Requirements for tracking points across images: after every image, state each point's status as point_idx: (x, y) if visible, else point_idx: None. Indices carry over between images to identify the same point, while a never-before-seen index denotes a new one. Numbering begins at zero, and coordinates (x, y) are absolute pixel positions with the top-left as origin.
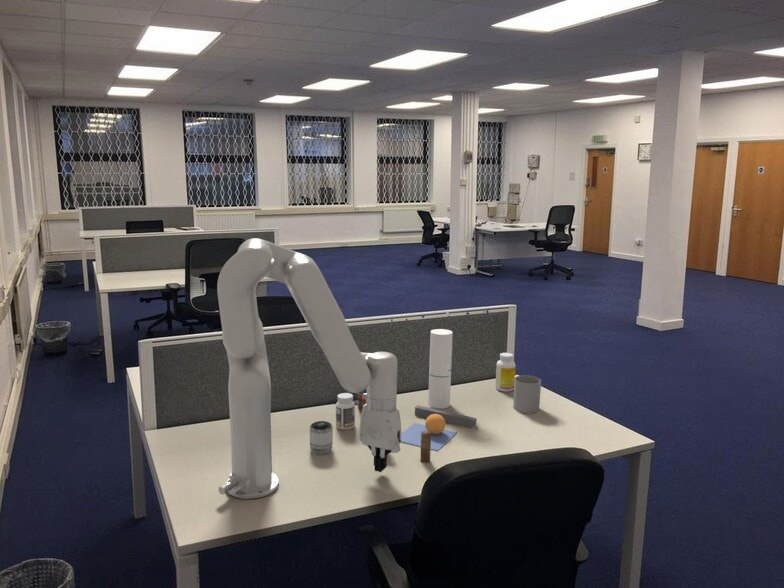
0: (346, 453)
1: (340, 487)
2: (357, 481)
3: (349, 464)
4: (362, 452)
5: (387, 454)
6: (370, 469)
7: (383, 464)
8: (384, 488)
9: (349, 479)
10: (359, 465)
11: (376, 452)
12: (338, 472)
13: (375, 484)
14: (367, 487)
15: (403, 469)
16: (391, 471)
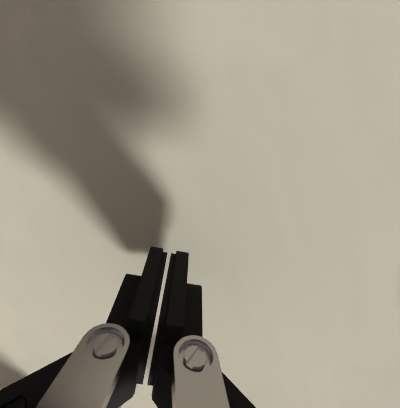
0: (376, 373)
1: (358, 40)
2: (265, 155)
3: (347, 301)
4: (308, 394)
5: (44, 368)
6: (233, 289)
7: (122, 290)
8: (83, 128)
9: (318, 162)
10: (296, 306)
11: (171, 374)
12: (394, 215)
13: (153, 156)
14: (185, 104)
15: (87, 329)
16: None
